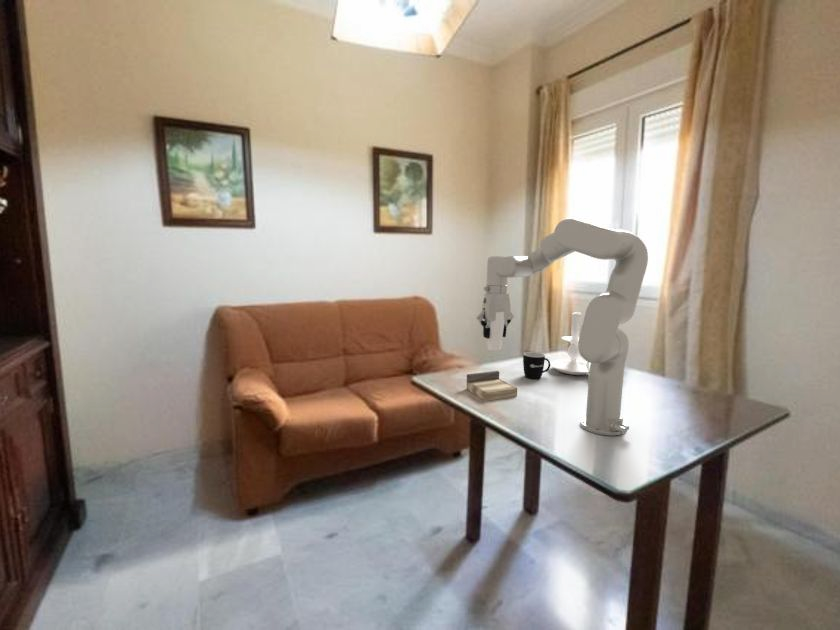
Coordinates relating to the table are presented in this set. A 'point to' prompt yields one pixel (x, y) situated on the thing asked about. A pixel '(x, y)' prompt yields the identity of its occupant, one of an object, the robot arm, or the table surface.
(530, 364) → the mug
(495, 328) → the white tapered cup
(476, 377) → the dock
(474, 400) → the table surface
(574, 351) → the candlestick
